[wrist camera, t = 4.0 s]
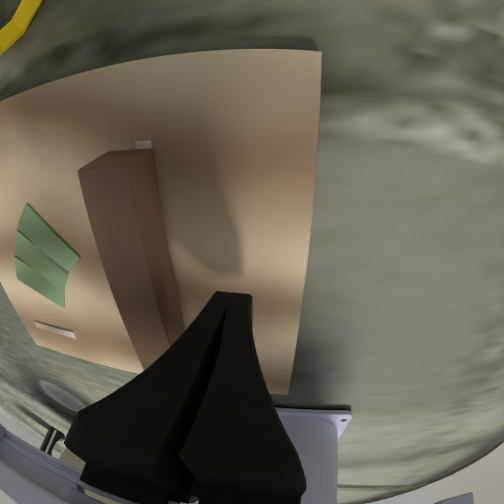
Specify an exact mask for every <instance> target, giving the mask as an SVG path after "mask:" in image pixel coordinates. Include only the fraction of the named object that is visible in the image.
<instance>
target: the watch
mask: <svg viewBox="0 0 504 504" xmlns="http://www.w3.org/2000/svg"><path fill="white" fill-rule="evenodd" d="M42 1H43V0H22V1H21V3H20V5H19V7H18V8H17V10H16V12H15V14H14V16H13V18H12V20H11V21H10V22H9V23H8V24H6V25H5V26H4V27H3V28H2V29H1V30H0V55H1V54H2V53H3V52H5V51H6V50H7V49H8V48H9V47H10V46H11V45H12V44H13V43H15V42H16V41H17V40H18V39H19V38H20V37H21V36H22V35H23V34H24V33H25V31H26V30H27V28H28V26H29V24H30V22H31V20H32V18H33V17H34V15H35V13H36V11H37V10H38V8H39V6H40V5H41V3H42Z"/></svg>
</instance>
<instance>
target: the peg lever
mask: <svg viewBox="0 0 504 504" xmlns="http://www.w3.org/2000/svg"><path fill="white" fill-rule="evenodd" d="M77 172H78V177H79V181H80V186H81V190H82V194H83V198H84V202H85V206H86V210H87V214H88V218H89V222H90V225H91V229H92V232H93V236H94V239H95V243H96V246H97V249H98V252H99V256H100V259H101V262H102V265H103V268H104V271H105V274H106V277H107V280H108V283H109V286H110V288H111V291H112V294H113V297H114V300H115V302H116V305H117V308H118V310H119V313H120V315H121V318H122V320H123V323H124V325H125V328H126V330H127V333H128V335H129V338H130V340H131V342H132V345H133V347H134V349H135V352H136V354H137V356H138V358H139V361H140V363H141V365H142V367H143V369H144V370H145V369H146V368H148V367H149V366H150V365H151V364H152V363H153V362H155V361H156V360H157V359H158V358H159V357H160V356H161V355H162V354H163V353H164V352H165V351H166V350H167V349H168V348H169V347H170V346H171V345H172V344H173V343H174V342H175V341H176V340H177V339H178V338H179V337H180V336H181V335H182V334H183V332H184V331H185V325H184V321H183V317H182V312H181V308H180V303H179V298H178V293H177V289H176V284H175V279H174V274H173V269H172V263H171V258H170V253H169V247H168V241H167V236H166V230H165V224H164V218H163V211H162V205H161V198H160V191H159V184H158V177H157V169H156V162H155V153H154V148H148V149H133V150H119V151H108V152H106V153H104V154H102V155H101V156H99V157H98V158H96V159H94V160H93V161H91V162H90V163H88V164H87V165H85V166H83V167H82V168H80V169H79V170H77Z"/></svg>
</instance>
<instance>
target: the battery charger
mask: <svg viewBox="0 0 504 504" xmlns="http://www.w3.org/2000/svg"><path fill="white" fill-rule="evenodd" d="M64 439H65V436H64V435H62V434H61V433H59V432H58V431H57V430H54V429H53V428H51V429H50V430H49V431H48V432H47V434H46V436H45V439H44V441H43V443H42V445H41V448H40V450H41V451H43V452H45V453H47V454H49V455H51V452H52V449H53V447H54V445H55V443H56V442H57V441H62V440H64ZM51 456H52V455H51Z"/></svg>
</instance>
